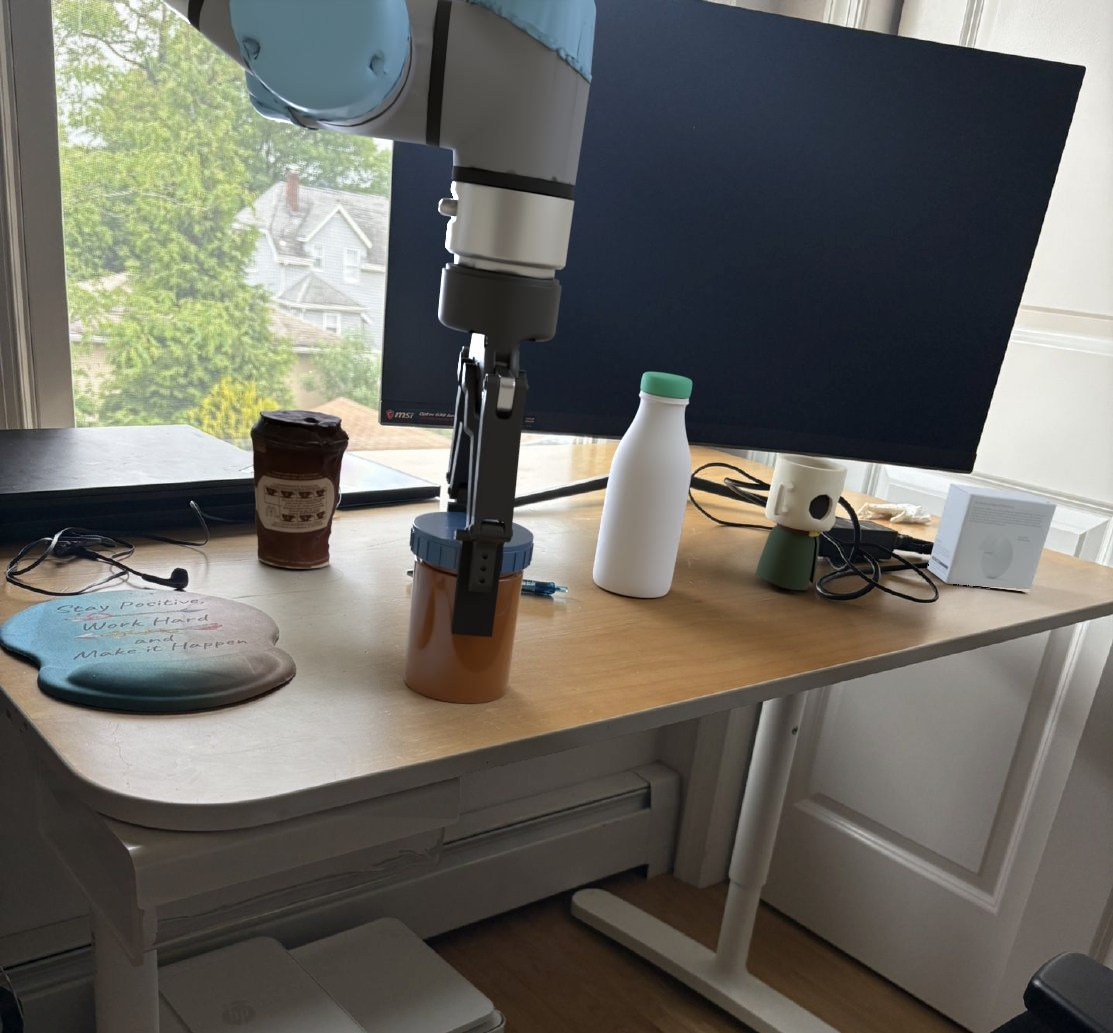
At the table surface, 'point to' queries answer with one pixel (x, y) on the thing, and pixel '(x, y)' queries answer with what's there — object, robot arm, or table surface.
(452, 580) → the jar
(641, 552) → the milk bottle
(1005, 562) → the cosmetics box
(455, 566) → the jar lid
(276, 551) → the coffee cup
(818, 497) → the character mug
